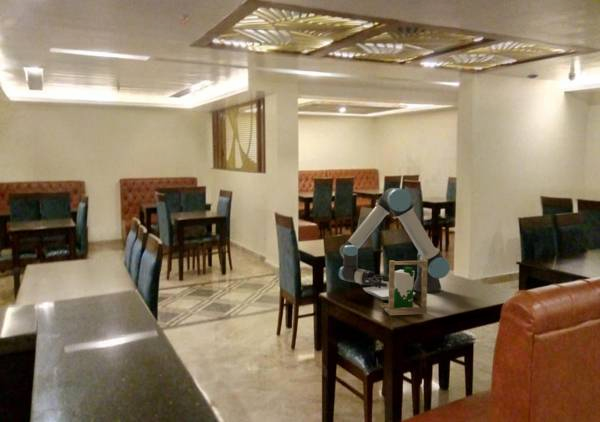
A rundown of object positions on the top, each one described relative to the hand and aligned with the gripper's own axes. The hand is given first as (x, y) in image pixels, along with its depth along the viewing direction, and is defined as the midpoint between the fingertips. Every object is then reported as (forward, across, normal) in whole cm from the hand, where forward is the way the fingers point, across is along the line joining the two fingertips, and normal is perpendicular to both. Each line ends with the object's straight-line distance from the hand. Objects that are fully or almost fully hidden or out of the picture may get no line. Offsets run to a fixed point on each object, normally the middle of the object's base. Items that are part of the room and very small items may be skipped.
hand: (400, 283), depth 237 cm
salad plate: (-17, -16, -13) cm, 27 cm away
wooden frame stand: (+2, +1, -12) cm, 12 cm away
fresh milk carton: (+2, 0, -12) cm, 12 cm away
